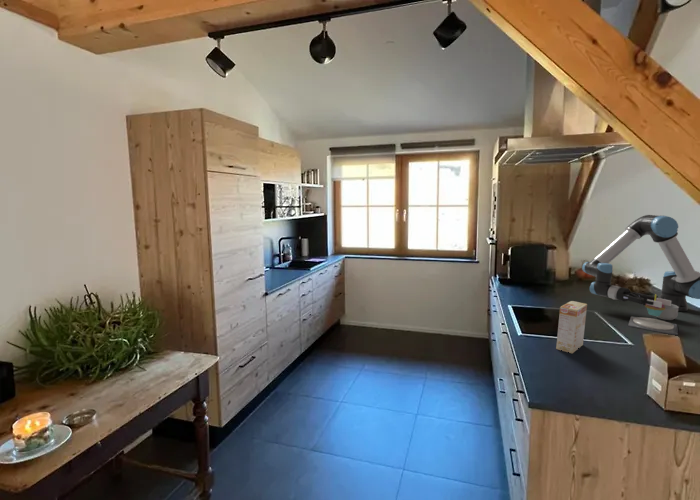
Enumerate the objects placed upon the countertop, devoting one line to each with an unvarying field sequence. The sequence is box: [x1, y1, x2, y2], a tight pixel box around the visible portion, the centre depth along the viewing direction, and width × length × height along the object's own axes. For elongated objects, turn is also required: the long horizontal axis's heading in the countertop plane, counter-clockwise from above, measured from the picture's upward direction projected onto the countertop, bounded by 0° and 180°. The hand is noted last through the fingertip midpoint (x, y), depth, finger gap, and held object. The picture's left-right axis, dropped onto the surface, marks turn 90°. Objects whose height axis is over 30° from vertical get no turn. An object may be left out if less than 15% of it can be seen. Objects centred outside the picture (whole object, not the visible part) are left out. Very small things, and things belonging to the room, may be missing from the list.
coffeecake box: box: [555, 300, 588, 354], centre depth 170 cm, size 15×7×20 cm, turn 133°
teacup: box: [656, 304, 679, 321], centre depth 217 cm, size 14×11×8 cm
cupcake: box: [644, 293, 665, 317], centre depth 201 cm, size 9×8×12 cm
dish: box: [627, 316, 679, 336], centre depth 203 cm, size 20×20×2 cm
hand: (666, 304), depth 197 cm, fingers closed on cupcake, 8 cm apart
